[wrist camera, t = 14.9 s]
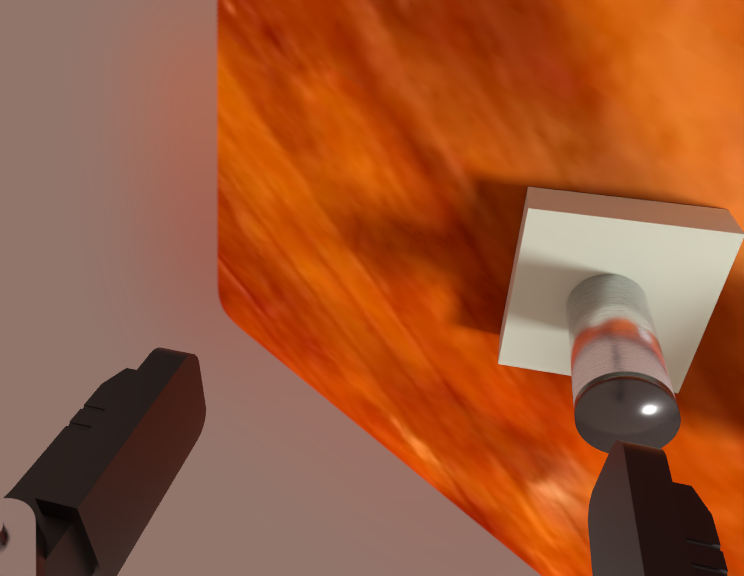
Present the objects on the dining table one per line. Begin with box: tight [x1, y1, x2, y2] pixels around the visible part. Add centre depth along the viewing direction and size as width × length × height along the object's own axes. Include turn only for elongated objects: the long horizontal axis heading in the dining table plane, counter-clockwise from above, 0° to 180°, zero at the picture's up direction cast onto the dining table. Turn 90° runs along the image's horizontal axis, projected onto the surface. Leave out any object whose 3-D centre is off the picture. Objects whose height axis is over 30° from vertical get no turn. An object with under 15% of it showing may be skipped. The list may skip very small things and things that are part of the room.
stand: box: [498, 187, 744, 393], centre depth 45 cm, size 14×14×4 cm
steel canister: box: [566, 274, 681, 453], centre depth 39 cm, size 6×6×12 cm
